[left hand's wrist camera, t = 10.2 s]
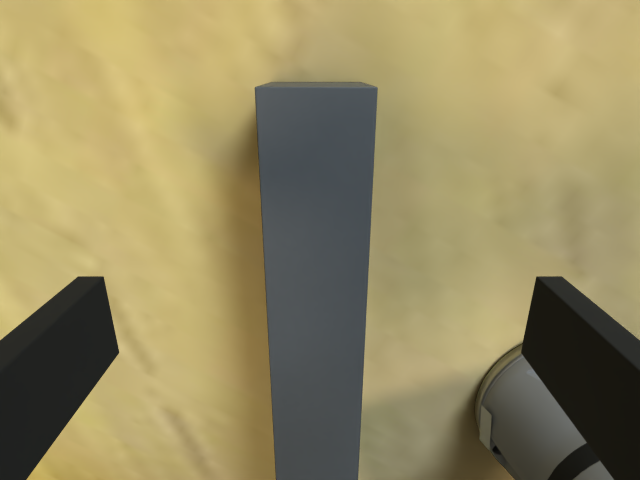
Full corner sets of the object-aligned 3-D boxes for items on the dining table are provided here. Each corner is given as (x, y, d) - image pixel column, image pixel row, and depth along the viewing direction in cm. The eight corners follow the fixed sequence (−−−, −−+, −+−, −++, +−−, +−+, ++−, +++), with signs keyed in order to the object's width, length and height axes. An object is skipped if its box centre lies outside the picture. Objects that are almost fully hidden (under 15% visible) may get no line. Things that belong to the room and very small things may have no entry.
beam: (270, 81, 27) (254, 86, 20) (362, 82, 27) (377, 86, 20) (292, 621, 50) (288, 712, 43) (342, 621, 50) (346, 712, 43)
